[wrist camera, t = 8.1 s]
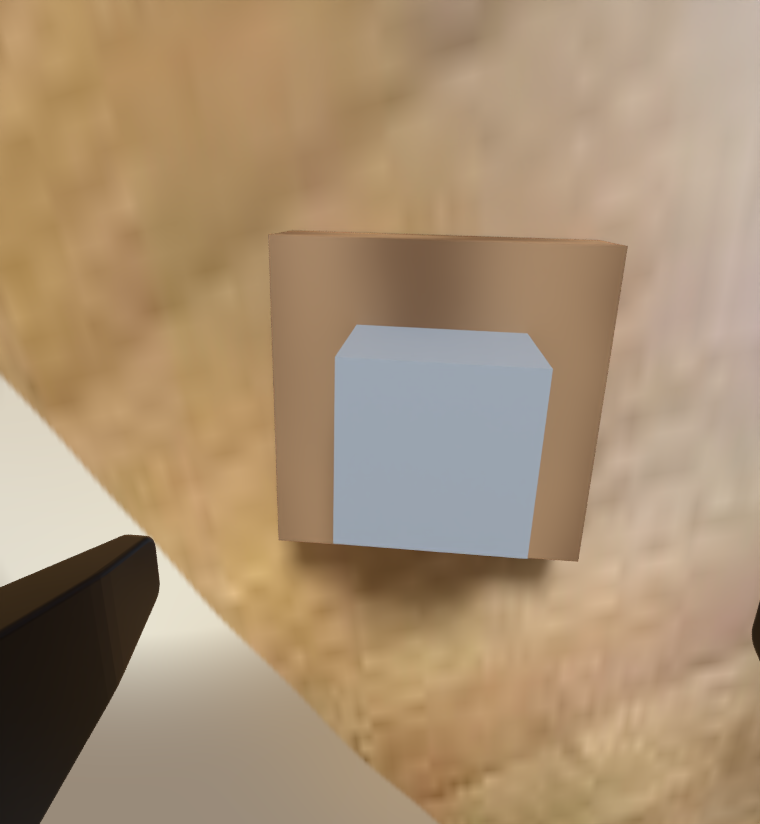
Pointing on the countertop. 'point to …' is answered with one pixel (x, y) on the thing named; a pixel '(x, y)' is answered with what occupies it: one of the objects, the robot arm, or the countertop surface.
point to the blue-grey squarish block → (438, 439)
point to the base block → (440, 309)
